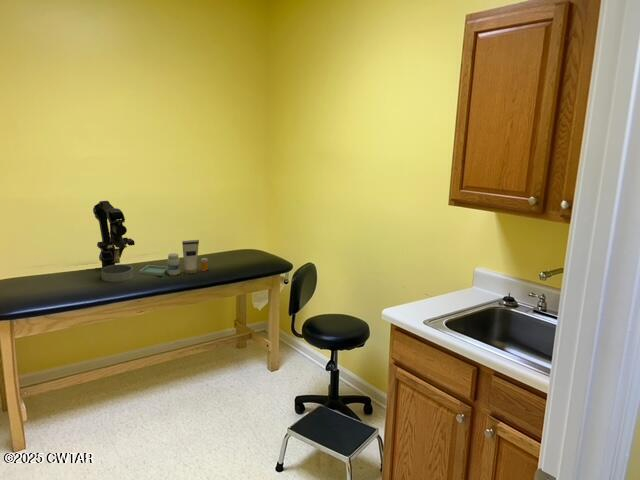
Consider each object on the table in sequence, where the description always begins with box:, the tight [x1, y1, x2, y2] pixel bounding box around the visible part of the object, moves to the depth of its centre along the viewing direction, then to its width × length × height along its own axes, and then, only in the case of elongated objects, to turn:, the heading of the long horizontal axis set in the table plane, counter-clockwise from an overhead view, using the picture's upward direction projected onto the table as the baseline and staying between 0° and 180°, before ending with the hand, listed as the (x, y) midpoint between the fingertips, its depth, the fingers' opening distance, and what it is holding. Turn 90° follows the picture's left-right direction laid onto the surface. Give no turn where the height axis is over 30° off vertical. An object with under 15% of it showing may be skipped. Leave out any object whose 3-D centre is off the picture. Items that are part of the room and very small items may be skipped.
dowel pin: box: [114, 247, 121, 264], centre depth 257 cm, size 3×3×8 cm
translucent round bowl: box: [100, 263, 134, 283], centre depth 259 cm, size 17×17×6 cm
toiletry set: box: [166, 239, 209, 276], centre depth 275 cm, size 25×8×20 cm, turn 121°
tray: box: [138, 264, 167, 277], centre depth 272 cm, size 14×12×2 cm
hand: (116, 258), depth 257 cm, fingers closed on dowel pin, 3 cm apart
